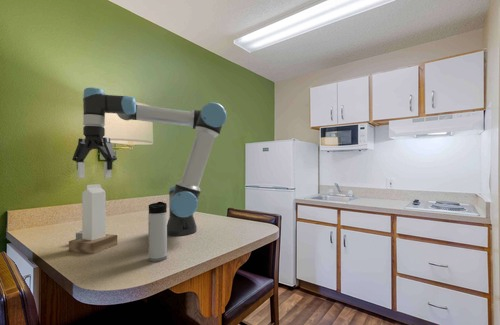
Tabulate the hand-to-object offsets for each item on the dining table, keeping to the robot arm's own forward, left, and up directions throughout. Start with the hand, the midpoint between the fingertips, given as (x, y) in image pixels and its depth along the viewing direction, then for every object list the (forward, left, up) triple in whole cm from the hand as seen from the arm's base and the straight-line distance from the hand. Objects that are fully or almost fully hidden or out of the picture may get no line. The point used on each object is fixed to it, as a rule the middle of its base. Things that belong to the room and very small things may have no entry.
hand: (94, 178), depth 104 cm
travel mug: (-33, +4, -29) cm, 44 cm away
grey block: (+10, -4, -29) cm, 31 cm away
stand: (0, 0, -29) cm, 29 cm away
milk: (0, 0, -25) cm, 25 cm away
